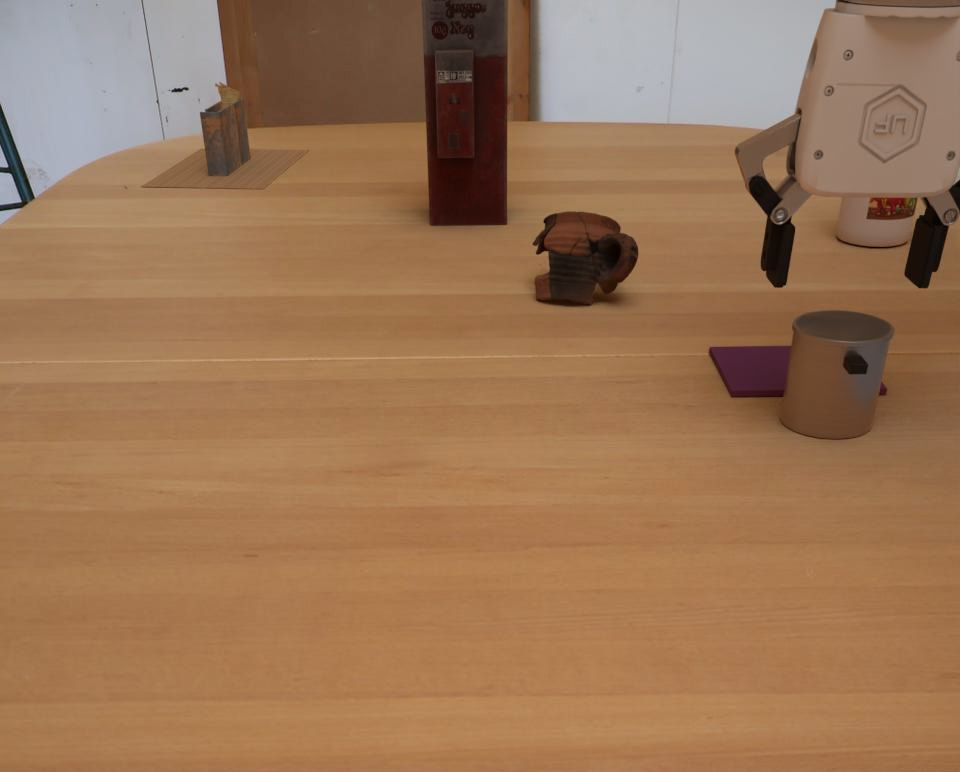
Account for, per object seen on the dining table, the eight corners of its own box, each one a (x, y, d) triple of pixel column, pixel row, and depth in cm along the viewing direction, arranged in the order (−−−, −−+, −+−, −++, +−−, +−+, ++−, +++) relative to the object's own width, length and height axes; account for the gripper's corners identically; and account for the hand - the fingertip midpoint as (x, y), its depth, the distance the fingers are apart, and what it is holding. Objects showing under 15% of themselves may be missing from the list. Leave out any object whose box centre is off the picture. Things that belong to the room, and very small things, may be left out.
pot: (854, 396, 87) (872, 303, 82) (892, 447, 79) (914, 348, 75) (765, 397, 87) (778, 304, 82) (794, 448, 79) (811, 349, 75)
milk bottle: (832, 245, 121) (869, 28, 109) (837, 228, 127) (873, 20, 115) (907, 251, 119) (954, 30, 107) (909, 233, 125) (953, 22, 113)
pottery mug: (505, 301, 108) (516, 212, 107) (566, 325, 115) (576, 242, 114) (606, 291, 100) (618, 194, 99) (664, 318, 107) (677, 228, 106)
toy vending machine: (428, 230, 128) (417, -71, 111) (432, 206, 137) (423, -76, 120) (507, 229, 128) (508, -72, 111) (506, 205, 136) (507, -77, 120)
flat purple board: (850, 350, 95) (851, 344, 95) (886, 394, 87) (887, 388, 87) (708, 352, 95) (709, 346, 94) (731, 396, 87) (732, 390, 86)
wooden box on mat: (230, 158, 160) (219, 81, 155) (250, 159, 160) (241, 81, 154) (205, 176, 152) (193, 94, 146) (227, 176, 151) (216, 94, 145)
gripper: (773, -13, 63) (729, 298, 74) (1077, -10, 64) (991, 299, 74) (746, -23, 69) (709, 266, 80) (1023, -20, 70) (951, 268, 80)
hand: (845, 282), depth 77 cm, fingers open, 9 cm apart
